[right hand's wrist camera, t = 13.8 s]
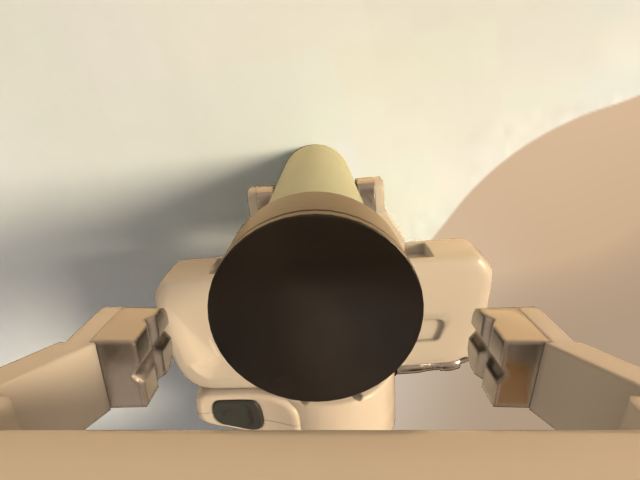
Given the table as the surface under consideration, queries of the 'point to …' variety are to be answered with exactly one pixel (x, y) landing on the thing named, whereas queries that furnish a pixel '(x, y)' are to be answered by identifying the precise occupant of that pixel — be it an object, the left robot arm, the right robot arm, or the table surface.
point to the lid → (315, 299)
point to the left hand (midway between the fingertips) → (314, 183)
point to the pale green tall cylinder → (316, 174)
